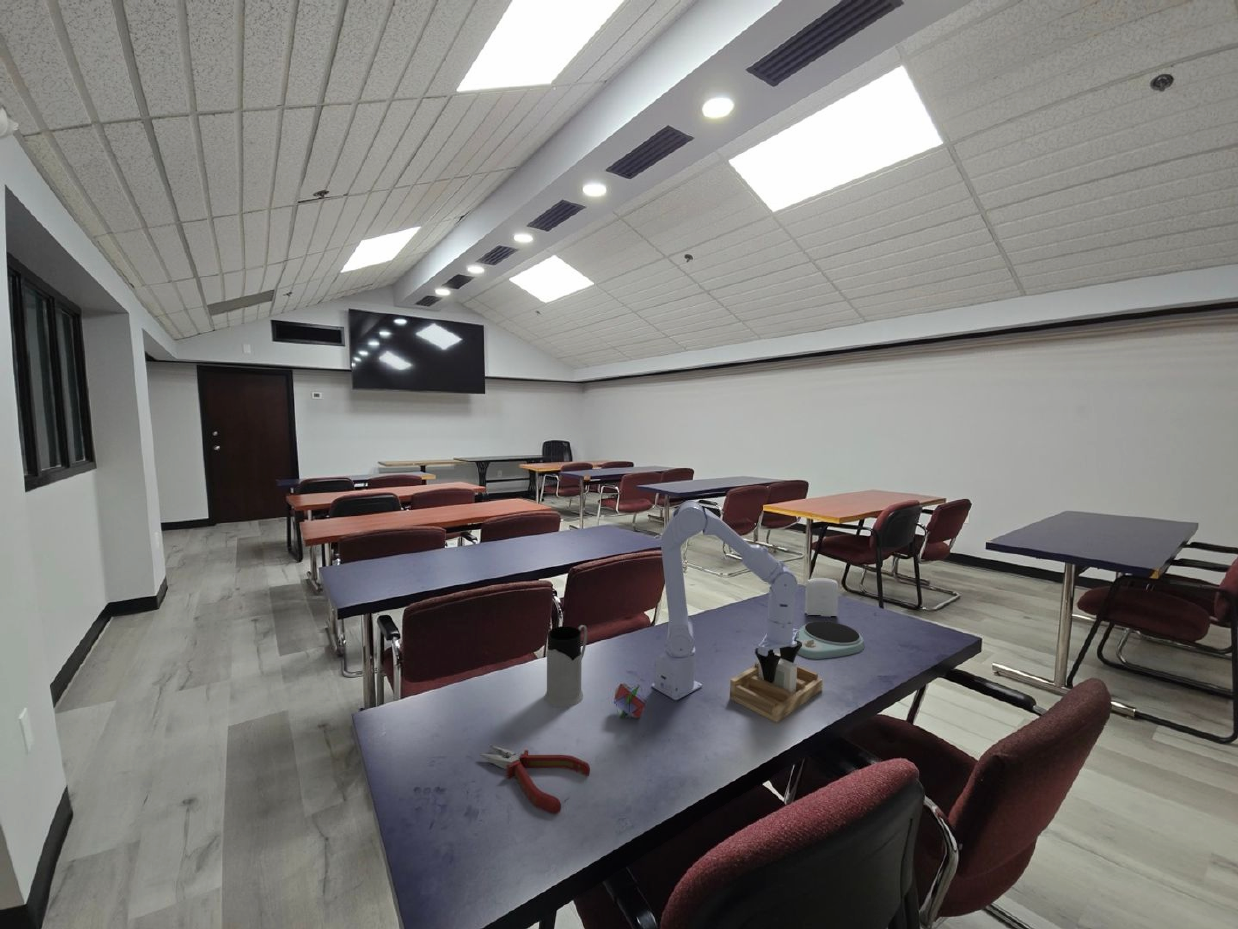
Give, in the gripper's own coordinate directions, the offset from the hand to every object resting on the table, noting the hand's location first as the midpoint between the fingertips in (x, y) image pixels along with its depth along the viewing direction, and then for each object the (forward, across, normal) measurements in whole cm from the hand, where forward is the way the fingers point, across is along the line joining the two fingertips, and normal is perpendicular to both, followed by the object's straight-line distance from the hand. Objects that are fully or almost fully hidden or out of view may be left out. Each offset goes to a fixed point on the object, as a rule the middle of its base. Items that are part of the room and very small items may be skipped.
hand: (777, 675), depth 114 cm
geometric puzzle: (+5, -32, +16) cm, 36 cm away
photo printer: (+5, +54, +16) cm, 57 cm away
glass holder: (+5, -36, +32) cm, 48 cm away
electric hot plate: (+5, +35, +5) cm, 35 cm away
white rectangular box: (+3, 0, 0) cm, 4 cm away
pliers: (+5, -56, +15) cm, 58 cm away
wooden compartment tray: (+4, 0, 0) cm, 4 cm away
